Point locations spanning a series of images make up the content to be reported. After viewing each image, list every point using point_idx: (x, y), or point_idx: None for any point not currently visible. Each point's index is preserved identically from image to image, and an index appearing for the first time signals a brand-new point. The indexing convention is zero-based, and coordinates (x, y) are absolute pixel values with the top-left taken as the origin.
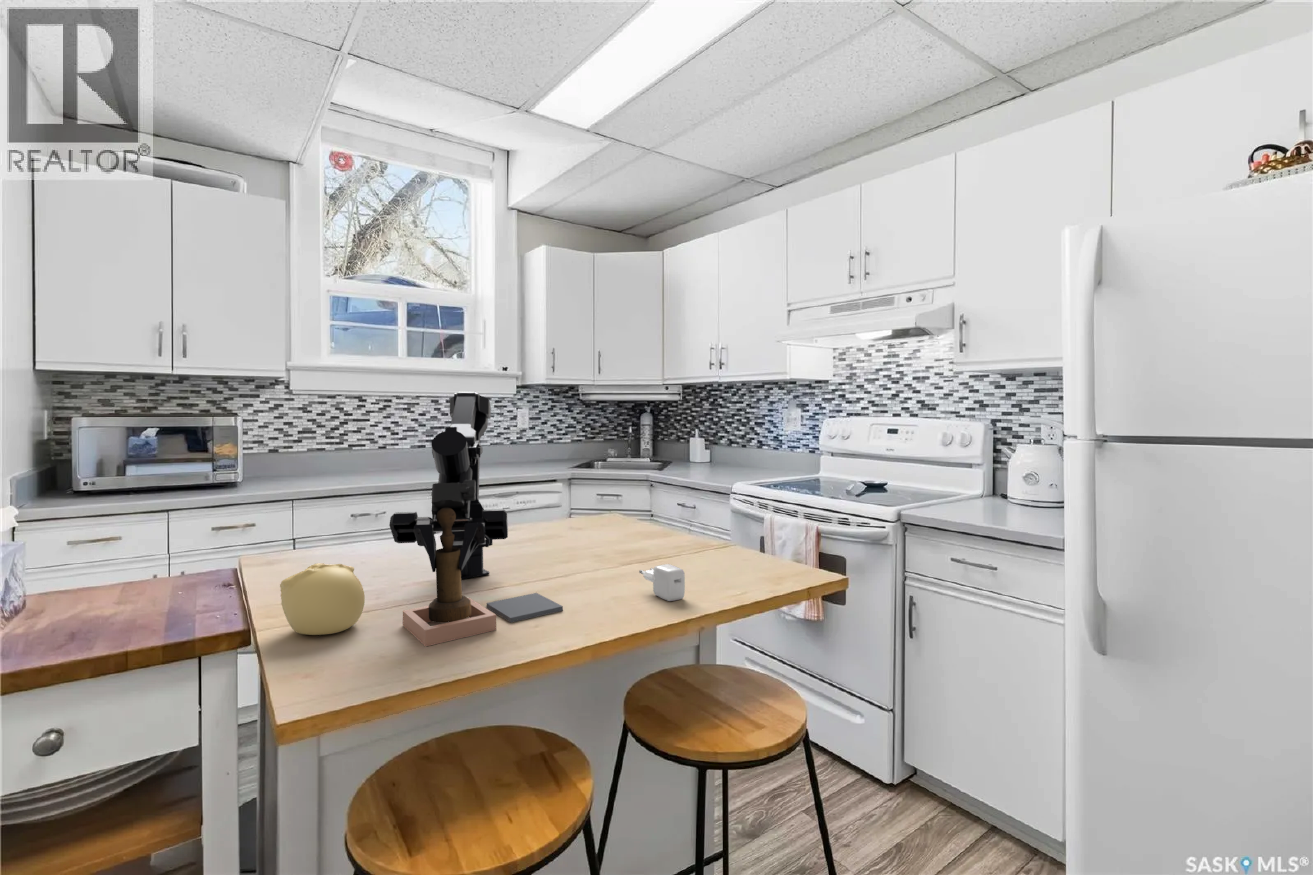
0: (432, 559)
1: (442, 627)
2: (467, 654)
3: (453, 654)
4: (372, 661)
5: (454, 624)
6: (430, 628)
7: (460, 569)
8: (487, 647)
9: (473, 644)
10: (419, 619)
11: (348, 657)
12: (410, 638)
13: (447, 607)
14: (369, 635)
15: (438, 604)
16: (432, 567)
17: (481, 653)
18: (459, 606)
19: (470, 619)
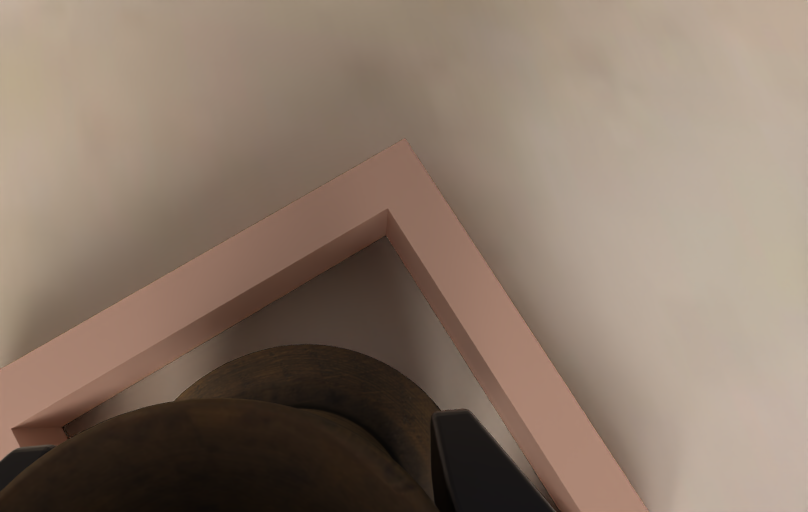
0: (498, 504)
1: (305, 199)
2: (144, 40)
3: (220, 49)
4: (623, 12)
5: (229, 238)
6: (378, 167)
7: None
8: (38, 123)
9: (125, 177)
10: (504, 362)
11: (769, 76)
12: (528, 317)
13: (290, 356)
14: (803, 398)
15: (372, 393)
16: (463, 420)
17: (67, 45)
18: (194, 389)
19: (123, 318)
